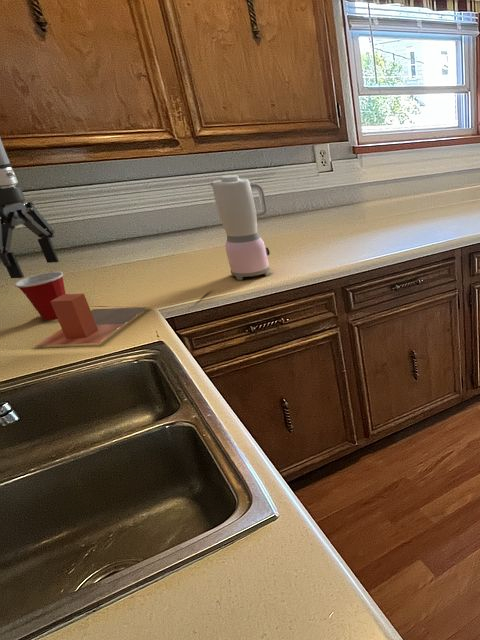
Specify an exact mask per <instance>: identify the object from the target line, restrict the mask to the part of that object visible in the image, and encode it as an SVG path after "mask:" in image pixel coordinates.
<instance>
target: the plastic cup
mask: <svg viewBox="0 0 480 640" xmlns="http://www.w3.org/2000/svg"><path fill="white" fill-rule="evenodd" d="M14 286H15V287H17V288H18V289H19V290H20V291H21V292H22V293H23V294H24V295H25V296H26V298H27V299H28V300H29V302H30V304H31V305H32V306H33V308H34V309H35V310H36V311H37V313H38V314H39V316H40V317H41V318H42V319H43V320H44V321H52V320H58V319H57V316H56V314H55V311H54V309H53V307H52V304H51V302H50V301H52V300H54V299H56V298H58V297H59V296H61V295H63V294H67V292H66V289H65V282H64V272H63V271H49V272H42V273H38V274H35V275H30V276H28V277H24V278H21V279H20V280H18V281H16V282H15V283H14Z"/></svg>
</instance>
